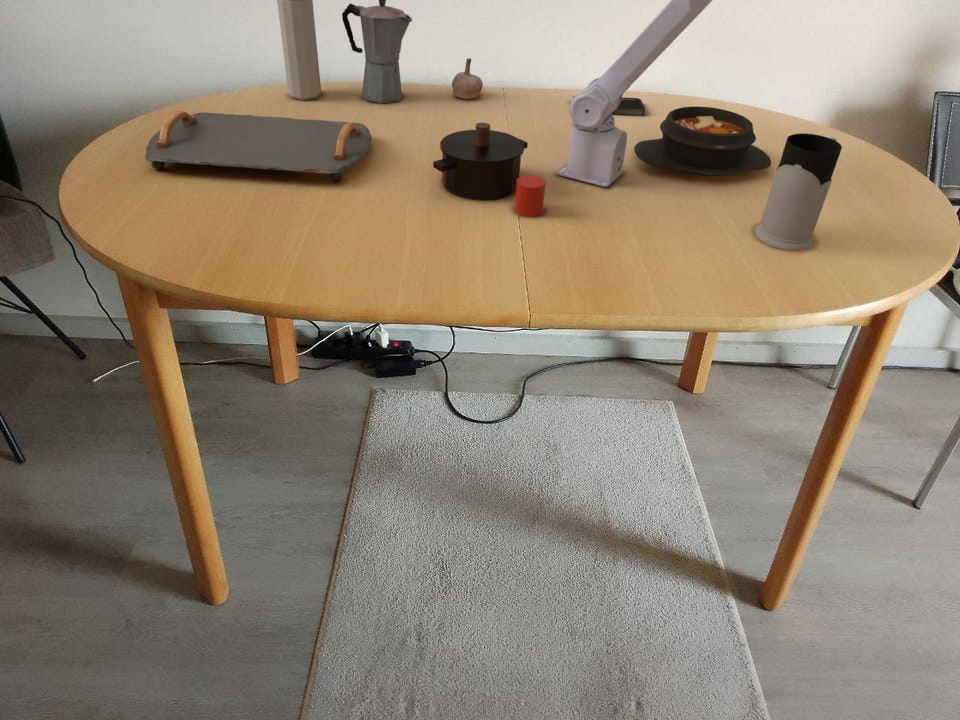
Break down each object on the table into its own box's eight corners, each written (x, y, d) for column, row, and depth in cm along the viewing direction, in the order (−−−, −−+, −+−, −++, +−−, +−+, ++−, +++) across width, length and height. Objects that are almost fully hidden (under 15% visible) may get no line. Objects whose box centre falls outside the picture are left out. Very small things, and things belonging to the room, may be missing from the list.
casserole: (643, 184, 127) (652, 137, 122) (623, 143, 142) (630, 100, 136) (783, 187, 128) (798, 140, 123) (749, 146, 143) (761, 104, 138)
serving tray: (130, 173, 123) (120, 137, 119) (185, 125, 141) (179, 92, 137) (356, 189, 121) (353, 153, 117) (382, 138, 139) (381, 106, 135)
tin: (547, 208, 118) (550, 179, 115) (535, 219, 115) (537, 189, 112) (522, 201, 120) (524, 172, 117) (509, 212, 116) (511, 182, 113)
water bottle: (320, 102, 154) (307, -30, 139) (283, 100, 154) (266, -32, 139) (328, 88, 162) (316, -38, 146) (292, 86, 161) (277, -40, 146)
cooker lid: (541, 155, 120) (543, 129, 118) (475, 175, 113) (476, 147, 111) (488, 130, 129) (489, 105, 126) (423, 146, 122) (423, 120, 119)
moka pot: (408, 107, 153) (405, 4, 141) (339, 100, 156) (330, -2, 143) (420, 93, 161) (418, -6, 149) (353, 87, 163) (347, -12, 151)
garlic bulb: (470, 88, 165) (471, 51, 160) (491, 97, 161) (492, 59, 156) (443, 94, 161) (444, 56, 156) (464, 103, 157) (465, 65, 152)
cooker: (545, 184, 125) (549, 148, 121) (461, 211, 116) (462, 173, 112) (497, 159, 133) (499, 125, 129) (415, 183, 124) (414, 146, 120)
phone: (572, 95, 160) (640, 98, 160) (571, 100, 161) (639, 103, 161) (575, 107, 154) (646, 110, 154) (574, 112, 154) (645, 115, 155)
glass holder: (744, 235, 113) (772, 141, 104) (783, 208, 121) (812, 118, 112) (799, 256, 108) (832, 159, 99) (835, 225, 117) (869, 134, 108)
